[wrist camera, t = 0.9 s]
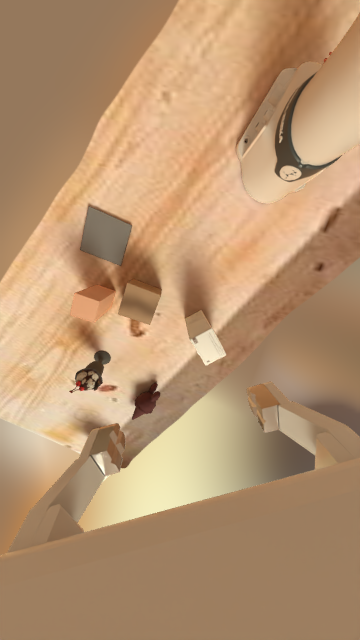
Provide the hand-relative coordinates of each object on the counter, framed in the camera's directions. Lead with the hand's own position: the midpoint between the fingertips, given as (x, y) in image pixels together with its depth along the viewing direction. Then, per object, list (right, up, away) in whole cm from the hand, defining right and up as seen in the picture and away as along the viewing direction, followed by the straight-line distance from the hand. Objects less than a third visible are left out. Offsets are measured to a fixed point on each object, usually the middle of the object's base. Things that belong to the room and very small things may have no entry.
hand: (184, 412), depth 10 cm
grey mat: (-19, +26, +31) cm, 44 cm away
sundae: (-25, -6, +42) cm, 50 cm away
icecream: (-12, -21, +49) cm, 55 cm away
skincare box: (+5, +5, +41) cm, 42 cm away
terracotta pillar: (-21, +12, +36) cm, 43 cm away
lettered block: (-11, +12, +37) cm, 40 cm away
